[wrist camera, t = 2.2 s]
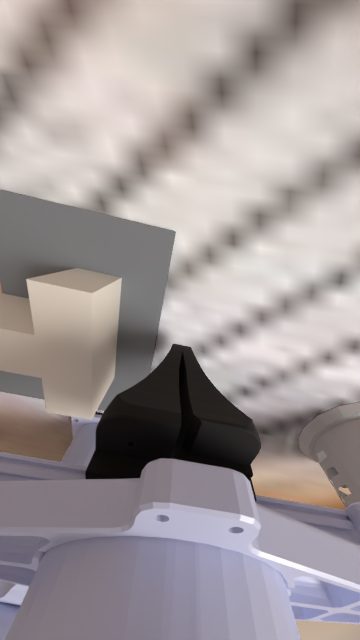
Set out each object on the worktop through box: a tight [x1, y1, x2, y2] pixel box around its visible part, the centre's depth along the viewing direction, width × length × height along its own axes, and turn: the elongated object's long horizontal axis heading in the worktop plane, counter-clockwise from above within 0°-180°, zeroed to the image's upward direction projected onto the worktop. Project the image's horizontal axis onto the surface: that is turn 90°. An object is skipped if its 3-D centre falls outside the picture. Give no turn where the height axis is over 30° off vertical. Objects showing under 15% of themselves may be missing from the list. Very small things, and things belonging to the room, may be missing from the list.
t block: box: [0, 268, 122, 420], centre depth 11 cm, size 9×9×4 cm
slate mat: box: [0, 190, 176, 411], centre depth 13 cm, size 17×22×1 cm
